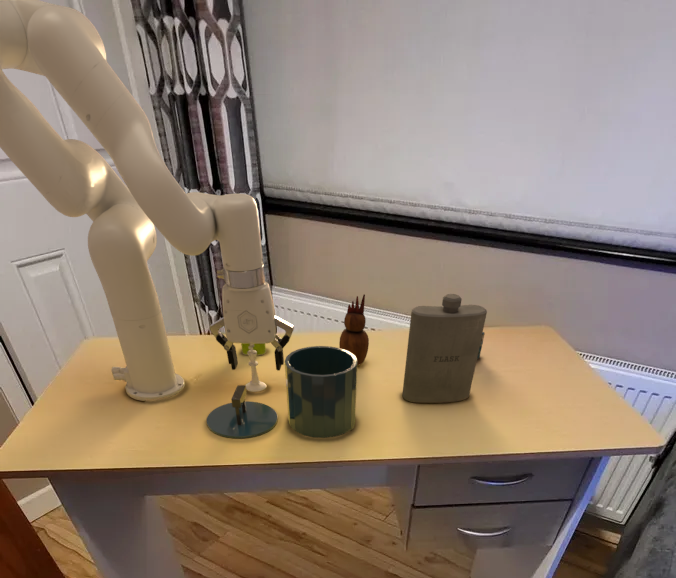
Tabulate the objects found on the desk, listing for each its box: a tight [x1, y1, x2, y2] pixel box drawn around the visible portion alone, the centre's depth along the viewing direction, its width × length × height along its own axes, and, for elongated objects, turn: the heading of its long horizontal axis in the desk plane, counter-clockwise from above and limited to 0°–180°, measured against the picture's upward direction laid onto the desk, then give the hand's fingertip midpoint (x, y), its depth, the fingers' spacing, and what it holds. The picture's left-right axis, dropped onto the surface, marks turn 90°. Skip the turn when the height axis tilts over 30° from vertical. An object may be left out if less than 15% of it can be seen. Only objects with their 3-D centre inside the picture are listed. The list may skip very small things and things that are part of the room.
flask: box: [401, 293, 488, 404], centre depth 104 cm, size 15×6×20 cm, turn 96°
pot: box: [284, 345, 358, 439], centre depth 99 cm, size 13×13×12 cm
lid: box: [206, 384, 279, 440], centre depth 101 cm, size 14×14×6 cm
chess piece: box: [244, 344, 267, 393], centre depth 109 cm, size 5×5×10 cm
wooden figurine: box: [338, 293, 370, 366], centre depth 117 cm, size 7×6×15 cm
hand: (257, 367), depth 110 cm, fingers open, 9 cm apart
